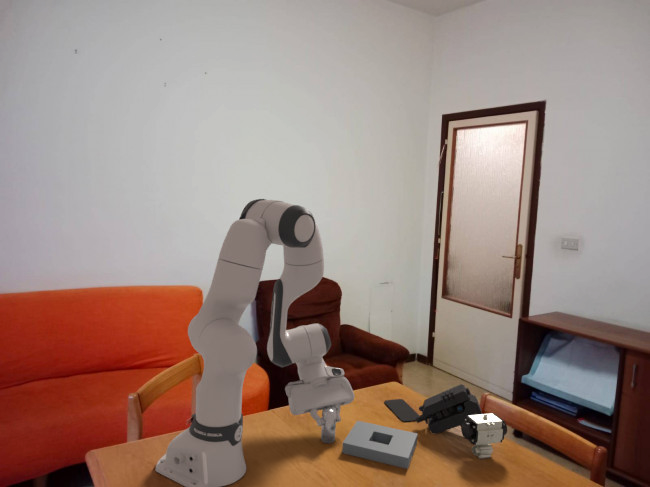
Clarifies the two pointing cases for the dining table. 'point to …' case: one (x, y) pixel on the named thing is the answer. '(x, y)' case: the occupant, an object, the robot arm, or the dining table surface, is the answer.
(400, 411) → the phone
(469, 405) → the tool
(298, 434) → the dining table surface
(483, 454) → the pneumatic valve
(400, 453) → the socket plate
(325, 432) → the steel pin
